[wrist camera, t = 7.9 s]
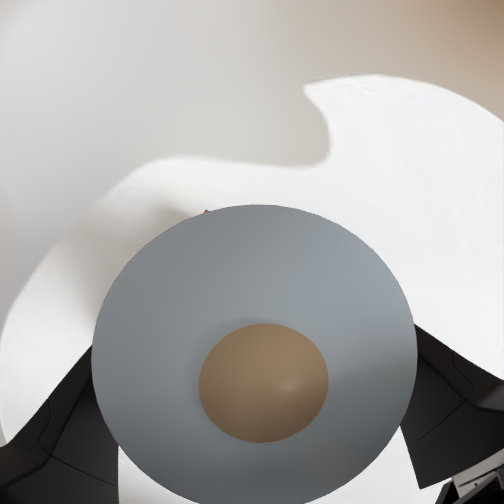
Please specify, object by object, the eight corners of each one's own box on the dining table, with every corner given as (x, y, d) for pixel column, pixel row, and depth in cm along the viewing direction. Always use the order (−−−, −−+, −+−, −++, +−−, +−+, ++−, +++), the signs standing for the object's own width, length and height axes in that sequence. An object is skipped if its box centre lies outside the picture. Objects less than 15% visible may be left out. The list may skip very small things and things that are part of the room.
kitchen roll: (290, 383, 17) (390, 494, 4) (186, 376, 16) (102, 491, 4) (297, 281, 18) (422, 221, 5) (192, 274, 18) (107, 192, 5)
